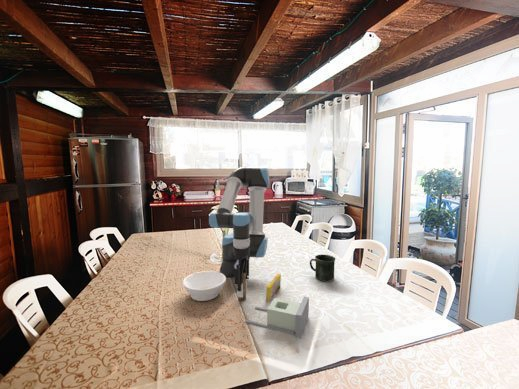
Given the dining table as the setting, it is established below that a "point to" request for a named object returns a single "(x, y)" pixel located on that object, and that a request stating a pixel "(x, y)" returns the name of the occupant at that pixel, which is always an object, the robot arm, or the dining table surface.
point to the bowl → (204, 285)
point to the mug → (324, 267)
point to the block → (282, 314)
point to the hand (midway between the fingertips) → (242, 294)
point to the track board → (300, 319)
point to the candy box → (273, 287)
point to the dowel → (243, 287)
